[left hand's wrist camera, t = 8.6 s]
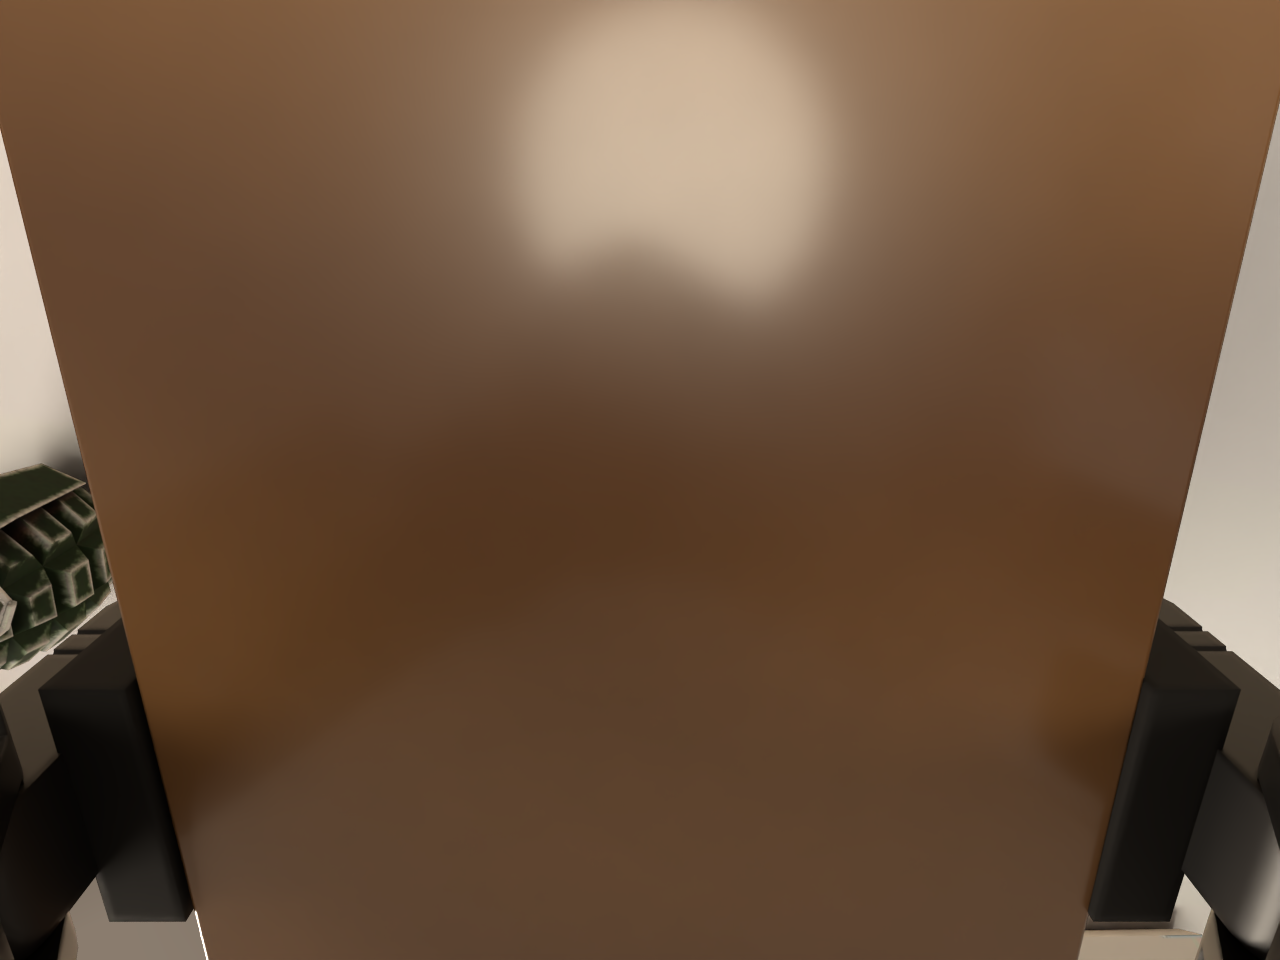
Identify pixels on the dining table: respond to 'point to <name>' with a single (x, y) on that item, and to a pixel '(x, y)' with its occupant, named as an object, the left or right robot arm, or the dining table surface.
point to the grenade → (46, 561)
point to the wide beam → (639, 447)
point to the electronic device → (1139, 944)
